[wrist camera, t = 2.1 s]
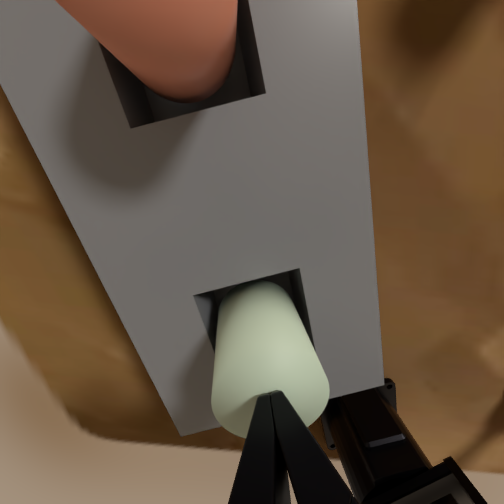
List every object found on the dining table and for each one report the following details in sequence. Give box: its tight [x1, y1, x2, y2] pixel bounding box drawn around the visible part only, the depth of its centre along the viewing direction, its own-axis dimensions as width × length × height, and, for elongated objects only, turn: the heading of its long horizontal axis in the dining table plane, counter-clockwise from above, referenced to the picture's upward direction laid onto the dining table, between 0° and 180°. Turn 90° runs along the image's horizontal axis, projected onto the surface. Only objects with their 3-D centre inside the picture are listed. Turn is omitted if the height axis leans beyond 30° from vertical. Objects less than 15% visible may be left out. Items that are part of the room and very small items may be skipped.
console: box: [0, 0, 384, 437], centre depth 12 cm, size 24×12×5 cm, turn 14°
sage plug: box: [211, 280, 330, 438], centre depth 11 cm, size 4×4×5 cm
